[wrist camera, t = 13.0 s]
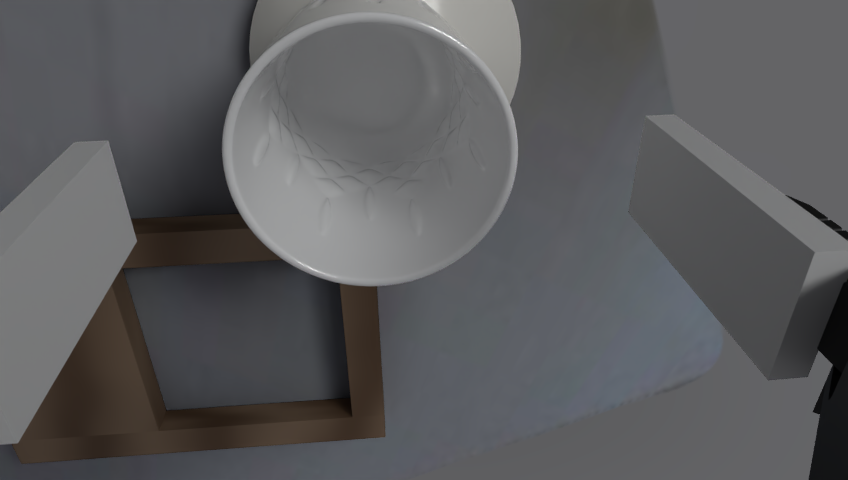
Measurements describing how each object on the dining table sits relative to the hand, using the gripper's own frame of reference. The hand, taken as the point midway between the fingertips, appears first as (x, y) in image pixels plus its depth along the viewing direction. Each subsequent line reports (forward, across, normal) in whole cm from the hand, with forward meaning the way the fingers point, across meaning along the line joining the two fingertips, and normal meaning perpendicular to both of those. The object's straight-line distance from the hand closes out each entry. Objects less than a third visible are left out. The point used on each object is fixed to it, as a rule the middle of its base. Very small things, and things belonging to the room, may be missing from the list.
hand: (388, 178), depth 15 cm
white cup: (+11, 0, 0) cm, 11 cm away
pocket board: (+12, -10, -14) cm, 21 cm away
